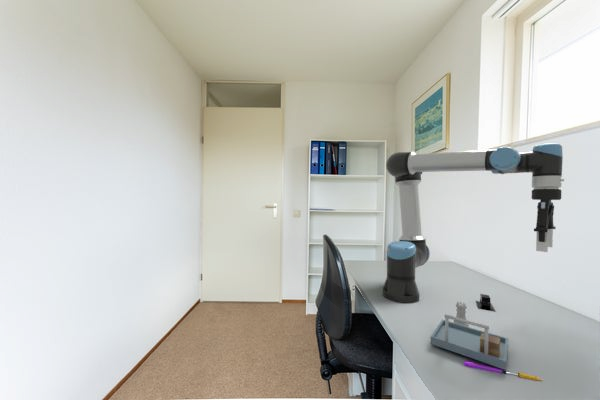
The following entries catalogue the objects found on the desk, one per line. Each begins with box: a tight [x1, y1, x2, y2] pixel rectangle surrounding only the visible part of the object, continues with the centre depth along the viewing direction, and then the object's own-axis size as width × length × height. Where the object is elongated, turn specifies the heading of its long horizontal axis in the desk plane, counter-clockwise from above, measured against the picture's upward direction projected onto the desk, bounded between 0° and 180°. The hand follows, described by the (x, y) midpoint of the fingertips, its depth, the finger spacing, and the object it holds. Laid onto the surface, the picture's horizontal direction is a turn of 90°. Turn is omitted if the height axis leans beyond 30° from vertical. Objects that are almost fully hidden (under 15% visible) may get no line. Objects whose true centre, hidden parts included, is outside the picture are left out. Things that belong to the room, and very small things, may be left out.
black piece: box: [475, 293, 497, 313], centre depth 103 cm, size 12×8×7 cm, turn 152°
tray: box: [430, 313, 509, 371], centre depth 73 cm, size 14×17×10 cm
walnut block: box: [480, 333, 500, 358], centre depth 68 cm, size 4×4×4 cm
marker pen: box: [463, 360, 543, 382], centre depth 64 cm, size 3×1×16 cm
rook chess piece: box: [453, 301, 469, 327], centre depth 85 cm, size 4×4×8 cm
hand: (544, 249), depth 90 cm, fingers open, 13 cm apart
